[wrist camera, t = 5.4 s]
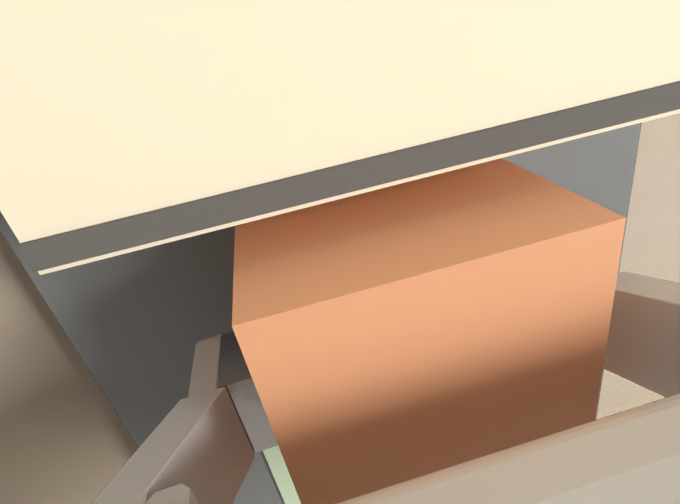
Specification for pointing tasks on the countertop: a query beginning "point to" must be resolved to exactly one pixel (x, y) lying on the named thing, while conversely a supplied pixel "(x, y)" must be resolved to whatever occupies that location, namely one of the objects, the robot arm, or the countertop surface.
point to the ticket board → (282, 144)
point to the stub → (424, 323)
